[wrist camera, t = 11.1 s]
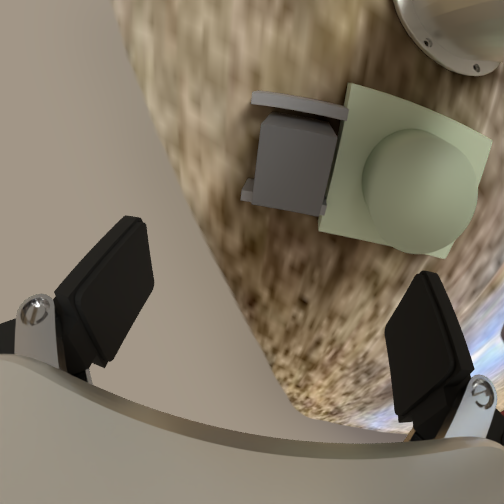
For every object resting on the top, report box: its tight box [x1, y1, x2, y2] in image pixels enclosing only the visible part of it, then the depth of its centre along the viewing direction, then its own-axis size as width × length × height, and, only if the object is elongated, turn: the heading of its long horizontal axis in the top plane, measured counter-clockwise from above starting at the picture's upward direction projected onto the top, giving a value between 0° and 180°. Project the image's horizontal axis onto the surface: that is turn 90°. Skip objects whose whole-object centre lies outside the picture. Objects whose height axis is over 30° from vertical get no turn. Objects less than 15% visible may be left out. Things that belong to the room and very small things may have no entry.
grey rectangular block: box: [252, 112, 337, 217], centre depth 21 cm, size 5×6×7 cm
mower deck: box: [241, 83, 493, 259], centre depth 21 cm, size 22×14×6 cm, turn 83°
